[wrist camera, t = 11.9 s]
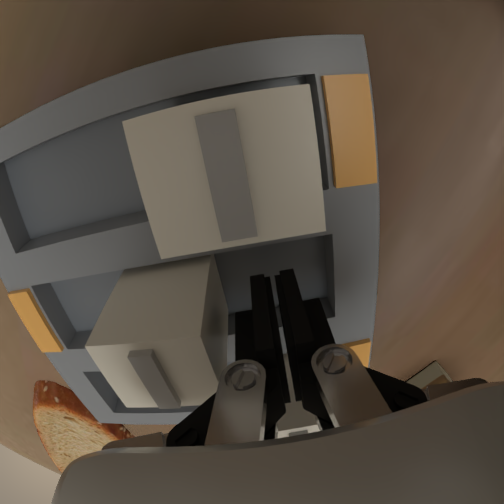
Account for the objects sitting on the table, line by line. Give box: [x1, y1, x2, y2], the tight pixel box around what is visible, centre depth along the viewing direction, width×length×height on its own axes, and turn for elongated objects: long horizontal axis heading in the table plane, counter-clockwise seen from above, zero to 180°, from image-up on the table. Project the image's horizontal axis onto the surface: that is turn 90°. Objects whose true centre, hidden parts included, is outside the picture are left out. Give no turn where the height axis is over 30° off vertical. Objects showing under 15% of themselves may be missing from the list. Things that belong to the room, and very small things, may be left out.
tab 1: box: [85, 254, 228, 409], centre depth 12 cm, size 3×4×6 cm
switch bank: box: [0, 34, 380, 424], centre depth 14 cm, size 19×18×3 cm
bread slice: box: [33, 380, 134, 473], centre depth 24 cm, size 18×18×4 cm
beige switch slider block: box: [122, 84, 326, 259], centre depth 9 cm, size 3×4×6 cm
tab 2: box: [277, 353, 320, 438], centre depth 15 cm, size 3×4×6 cm
